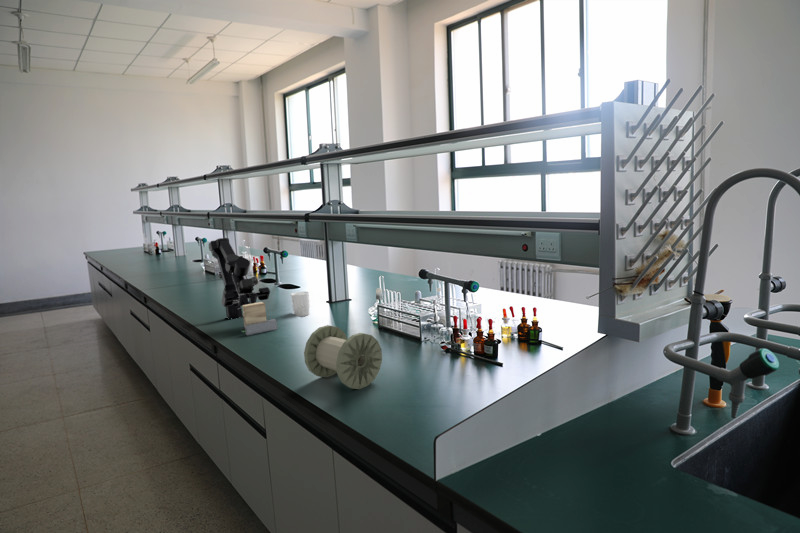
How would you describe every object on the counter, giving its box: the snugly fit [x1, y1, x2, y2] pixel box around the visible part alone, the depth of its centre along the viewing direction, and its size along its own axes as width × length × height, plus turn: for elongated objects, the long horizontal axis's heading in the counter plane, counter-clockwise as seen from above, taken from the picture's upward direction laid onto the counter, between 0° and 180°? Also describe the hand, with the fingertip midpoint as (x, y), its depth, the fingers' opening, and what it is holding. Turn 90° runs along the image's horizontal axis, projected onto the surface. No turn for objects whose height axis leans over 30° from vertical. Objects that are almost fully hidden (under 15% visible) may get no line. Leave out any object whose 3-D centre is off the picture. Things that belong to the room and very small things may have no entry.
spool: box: [303, 324, 383, 390], centre depth 148 cm, size 16×15×15 cm
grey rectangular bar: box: [244, 318, 278, 336], centre depth 205 cm, size 2×12×4 cm, turn 123°
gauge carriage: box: [241, 301, 268, 332], centre depth 210 cm, size 4×10×10 cm, turn 123°
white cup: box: [290, 291, 310, 318], centre depth 234 cm, size 8×8×10 cm
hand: (252, 312), depth 212 cm, fingers closed, pressing on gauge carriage
